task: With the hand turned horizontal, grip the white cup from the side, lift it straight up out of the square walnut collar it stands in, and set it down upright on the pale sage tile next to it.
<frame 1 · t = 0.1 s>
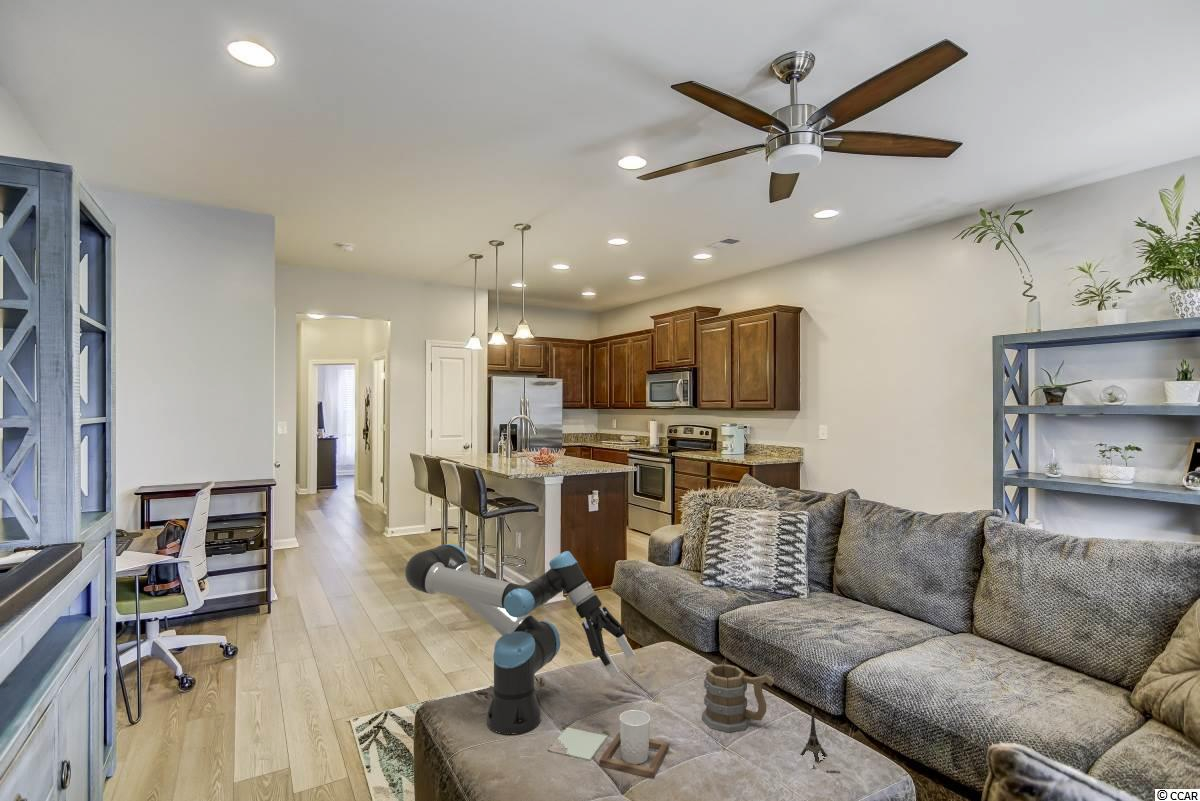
hand: (623, 665, 169), 15 cm above the ottoman, tool tilted 35°, fingers open, 13 cm apart
sage tile: (578, 744, 155), on the ottoman
white cup: (634, 757, 149), resting in walnut collar
walnut collar: (634, 757, 149), on the ottoman
tankard: (738, 724, 166), on the ottoman
eiffel tower figurine: (811, 758, 150), on the ottoman
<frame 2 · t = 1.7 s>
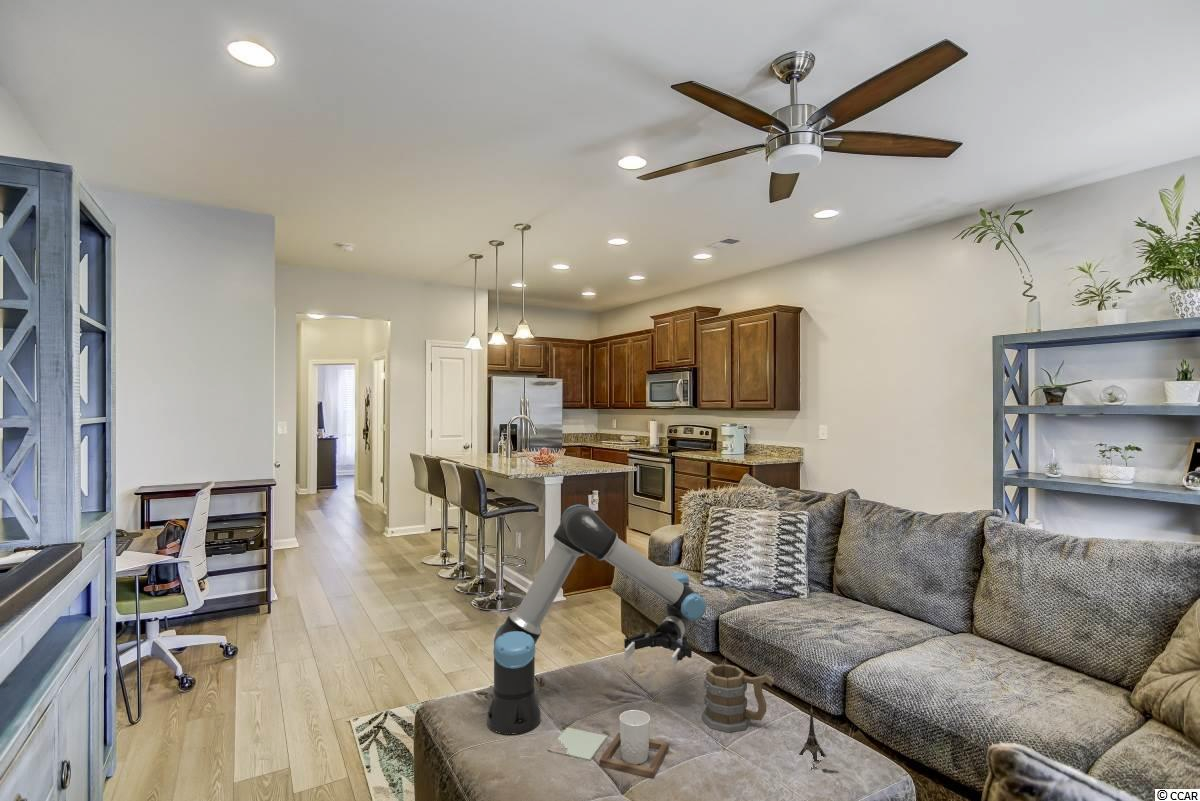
hand: (649, 658, 162), 20 cm above the ottoman, tool horizontal, fingers open, 13 cm apart
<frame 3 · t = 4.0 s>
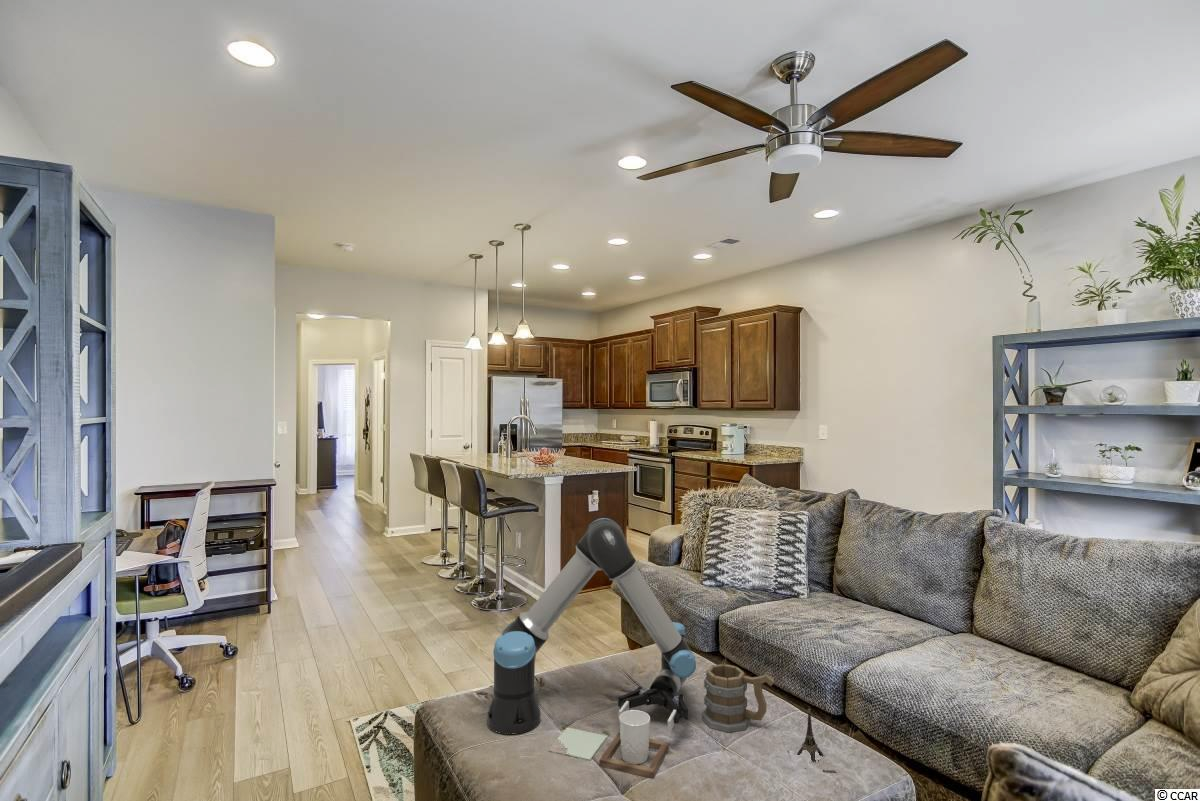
hand: (644, 721, 155), 6 cm above the ottoman, tool horizontal, fingers open, 13 cm apart
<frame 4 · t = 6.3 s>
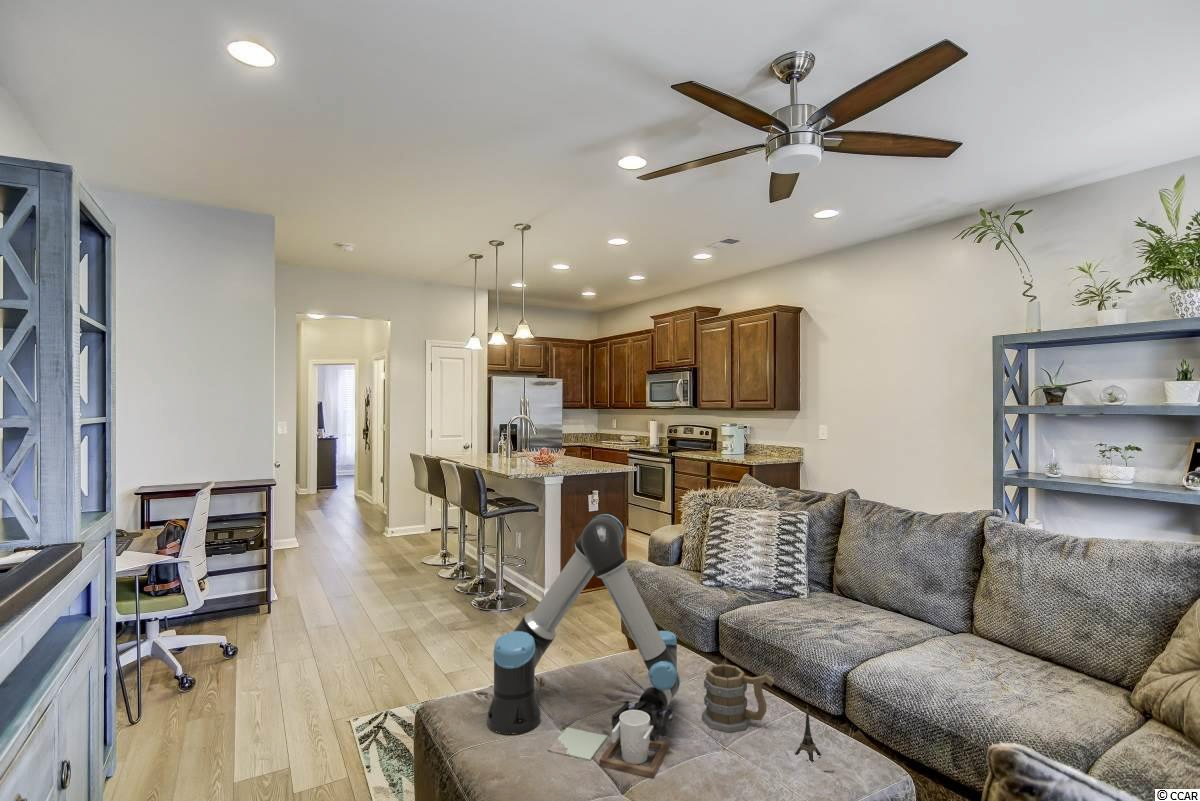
hand: (628, 740, 145), 7 cm above the ottoman, tool horizontal, fingers closed on white cup, 7 cm apart
white cup: (634, 757, 149), resting in walnut collar, touching gripper
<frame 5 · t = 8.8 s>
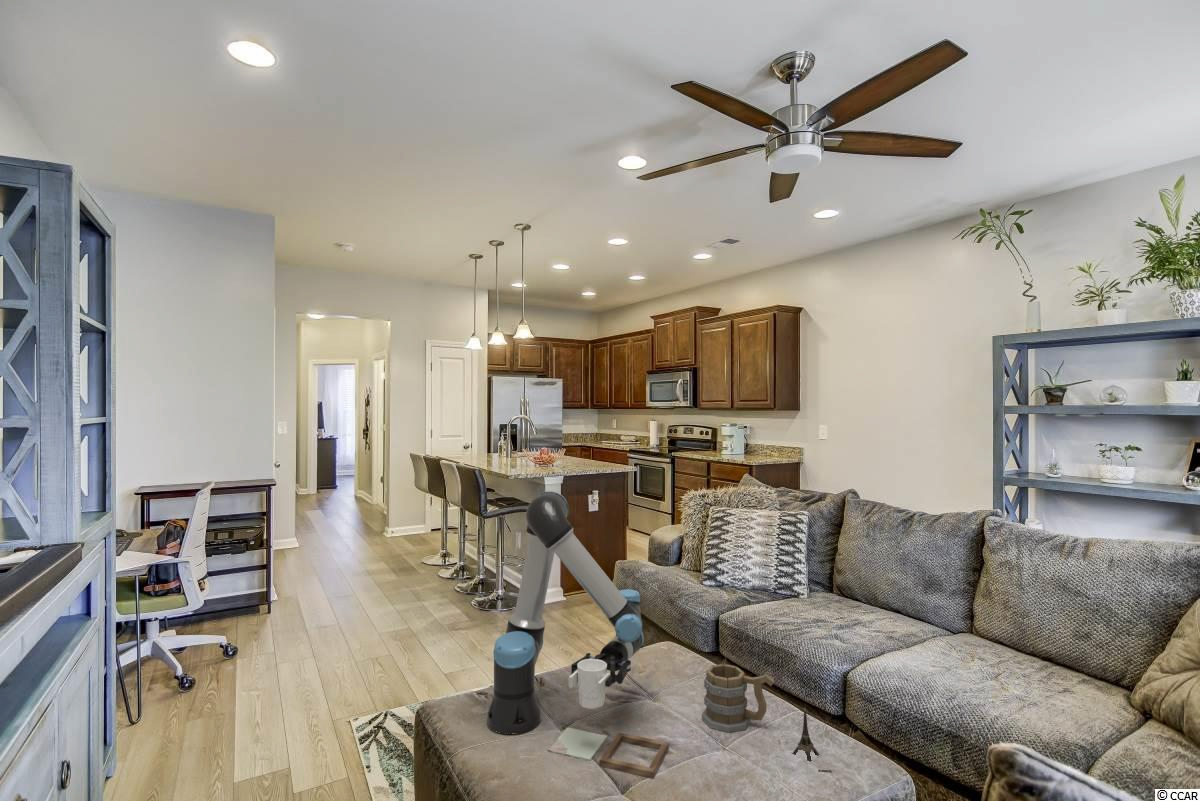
hand: (584, 685, 150), 18 cm above the ottoman, tool horizontal, fingers closed on white cup, 7 cm apart
white cup: (591, 703, 154), point 11 cm above the ottoman, touching gripper
when the fingers open (8 cm above the ottoman, at t = 11.3 s): white cup drops 2 cm, resting on sage tile.
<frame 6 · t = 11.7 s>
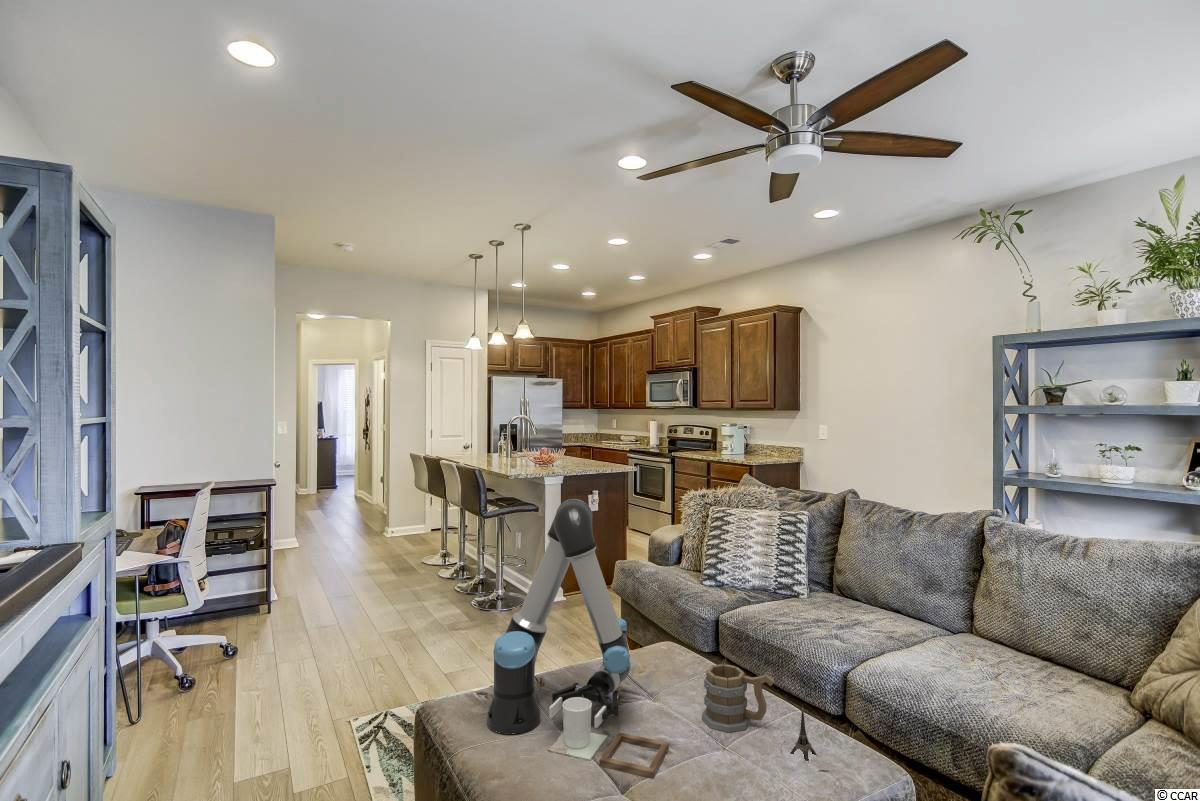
hand: (572, 717, 152), 8 cm above the ottoman, tool horizontal, fingers open, 12 cm apart
white cup: (577, 742, 155), resting on sage tile
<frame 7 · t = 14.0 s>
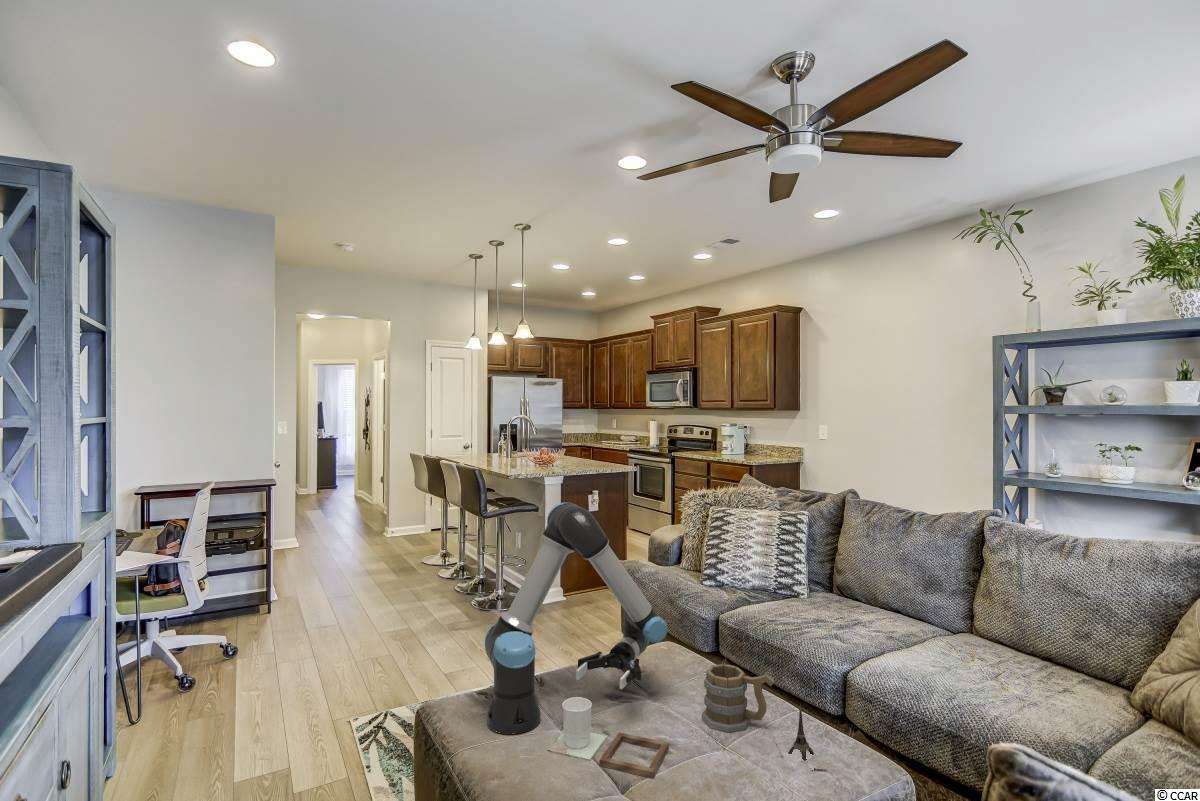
hand: (598, 679, 166), 12 cm above the ottoman, tool horizontal, fingers open, 13 cm apart
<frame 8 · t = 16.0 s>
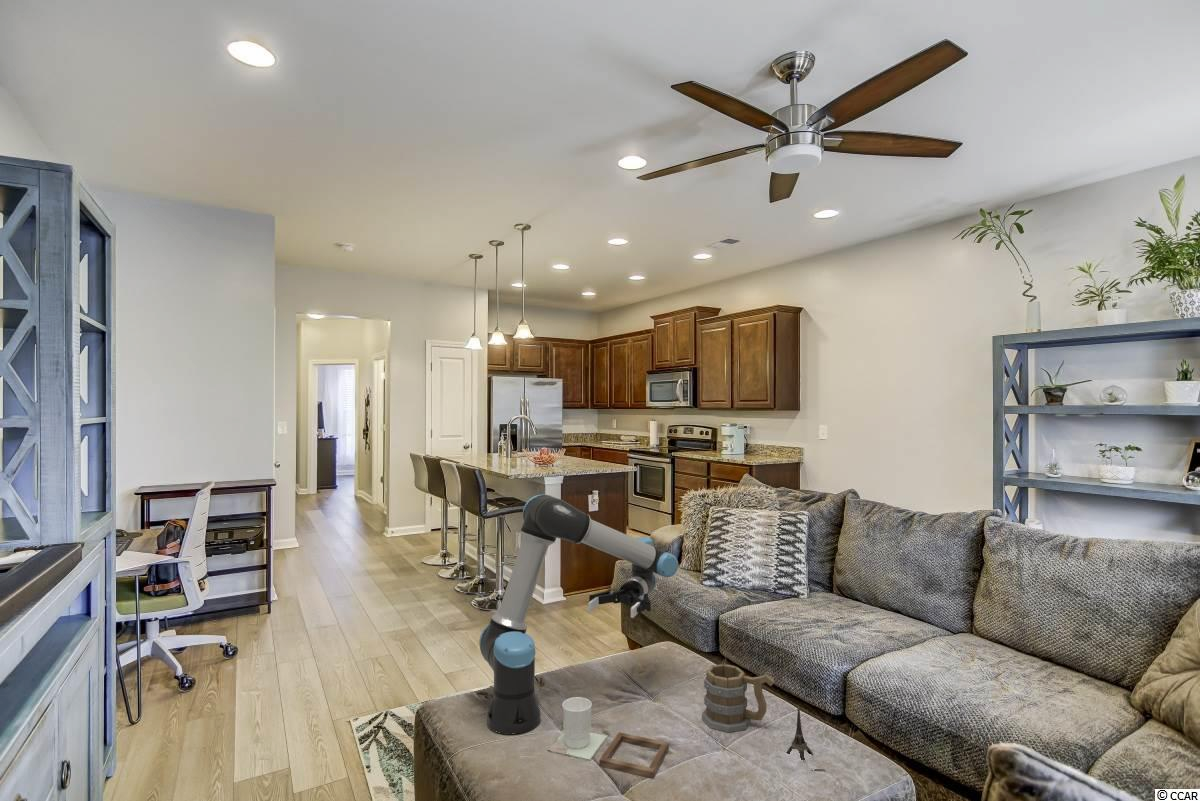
hand: (610, 610, 173), 30 cm above the ottoman, tool horizontal, fingers open, 13 cm apart
at the end: white cup inside the target area on the sage tile (0.3 cm from its centre), point 0.2 cm above the sage tile's base; white cup tilted 0°; the gripper is holding nothing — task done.
